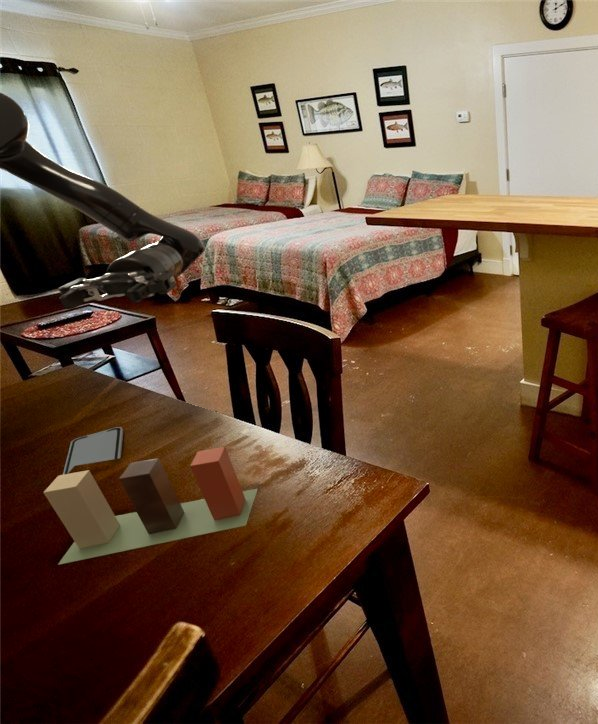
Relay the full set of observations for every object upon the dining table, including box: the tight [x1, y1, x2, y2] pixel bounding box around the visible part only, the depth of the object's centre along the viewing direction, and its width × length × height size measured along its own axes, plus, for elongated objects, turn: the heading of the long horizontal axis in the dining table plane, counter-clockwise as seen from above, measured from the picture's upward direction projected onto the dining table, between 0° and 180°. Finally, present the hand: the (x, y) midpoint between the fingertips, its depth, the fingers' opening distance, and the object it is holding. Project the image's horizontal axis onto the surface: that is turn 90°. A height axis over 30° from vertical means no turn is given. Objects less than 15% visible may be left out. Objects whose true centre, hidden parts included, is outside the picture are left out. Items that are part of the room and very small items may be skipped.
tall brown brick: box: [118, 457, 184, 534], centre depth 66 cm, size 3×3×10 cm
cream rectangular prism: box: [43, 469, 120, 549], centre depth 63 cm, size 3×3×10 cm
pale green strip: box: [57, 488, 259, 566], centre depth 68 cm, size 22×8×1 cm, turn 107°
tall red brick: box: [189, 446, 246, 520], centre depth 68 cm, size 3×3×10 cm
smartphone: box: [62, 426, 124, 475], centre depth 83 cm, size 7×1×15 cm
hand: (99, 300), depth 73 cm, fingers open, 8 cm apart
